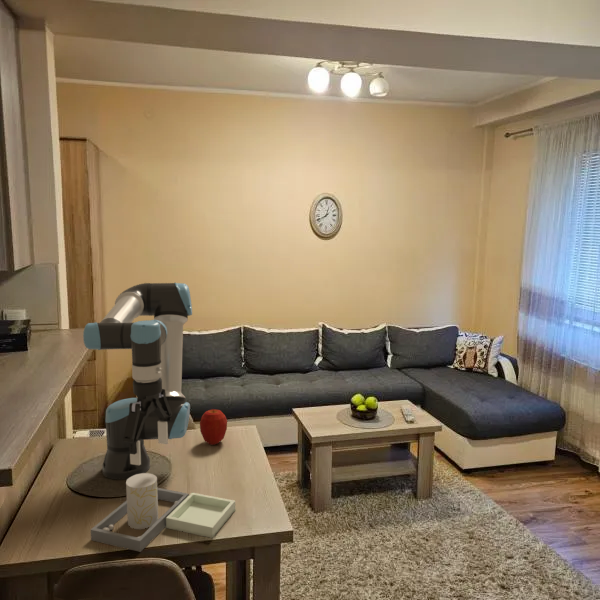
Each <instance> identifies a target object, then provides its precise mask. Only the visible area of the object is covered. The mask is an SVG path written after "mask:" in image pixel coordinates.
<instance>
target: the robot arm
mask: <svg viewBox="0 0 600 600" xmlns="http://www.w3.org/2000/svg"><path fill="white" fill-rule="evenodd" d="M192 315H193V304H192V299H191V292H190V288H189V285H187V283H185V282H184V283H180V282H156V283H154V282H153V283H152V282H150V283H149V282H144V283H139V284H136V285H133V286H131V287H129V288H127V289H125V290H123V291H122V292H121V293H120V294H119V295H118V296H117V297H116V299H115V301H114V305H113V306H112V307H111V309H110V310H109V312H107V314H106V315H105V316H104V317H103V318H102V320H101V321H100V322H97V321H95V322H88V323H86V325H85V326H84V329H83V332H82V333H83V334H82V336H83V337H82V338H83V344H84V347H85V349H88V350H98V351H103V350H106V351H107V350H131V362H132V363H131V364H132V365H131V368H132V369H131V371H132V373H131V374H132V375H131V377H132V379H133V380H132V391H133V395H135V396H136V397H129V398H124V399H119V400H117V401H115V402H113V403H111V404H109V405H108V406H107V408H106V409H105V420H104V421H105V431H106V432H105V434H106V452H105V455H104V459H103V463H102V465H101V467H102V475H103V476H104V477H106V478H108V479H112V480H127V479H128V478H130V477H131V476H133V475H136V474H141V473H148V471H149V469H150V467H151V460H150V456H149V455H148V452H147V449H146V446H145V440H147V441H148V440H157V442H158V444H161V445H162V444H163V445H168V444H169V440H173V439H181V438H184V436H186V433H187V430H188V425H189V422H190V414H191V413H190V412H191V404H190V403H189V402H187V401H186V399H187V398H186V396H185V395H184V394H183V393H182V385H183V383H182V380H183V379H182V377H183V345H184V344H183V342H184V325H185V324H186V323H187V322H188V320H189V319H188V317H189V316H192ZM141 316H146V317H148V316H149V317H151V316H153V319H151V320H149V319H148V320H147V319H146V320H138V321H135V322H134V320H135V319H136V318H138V317H141Z"/></svg>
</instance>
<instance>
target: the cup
mask: <svg viewBox="0 0 600 600" xmlns="http://www.w3.org/2000/svg"><path fill="white" fill-rule="evenodd" d="M125 486H126V487H125V488H126V489H125V491H126V500H127V514H126V515H127V526H128V527H129V526H130V527H129V528H131V529H133V528H134V529H133V530H145V528H146V529H149V528H150V527H151V526H152V525H153V524H154V523H155V522H156V521H157V520H158V519H159V501H158V500H159V499H158V494H157V488H158V477H157V475H155V474H153V473H149V472H145V473H141V474H136V475H133V476H131V477H130V478H128V479H126V482H125ZM148 527H149V528H148Z"/></svg>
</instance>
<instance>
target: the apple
mask: <svg viewBox="0 0 600 600" xmlns="http://www.w3.org/2000/svg"><path fill="white" fill-rule="evenodd" d="M199 428H200V429H199V431H200V434H201V435H202V438H203V441H204V442H205V443H207V444H208V445H211V446H214V445H217V444H219V443H220V442H221V441H222V440H223V439H225V435H226V433H227V429H228V419H227V417H226V415H225V414H224V413H223V412H222V410H220V409H214V408H211V409H209V410H206V411H205V412H204V413H203V414H202V416H201V418H200V421H199Z"/></svg>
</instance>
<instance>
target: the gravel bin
mask: <svg viewBox="0 0 600 600" xmlns="http://www.w3.org/2000/svg"><path fill="white" fill-rule="evenodd" d="M157 494H158V500H161V501H166V502H171V503H173V505H171V507H170V508H169V509H167V511H165V513H164V514H162V515H161V516H160V517H158V520H157V521H156V522H155V523H154V524H153V525H152V526H151V527H149V528H147V530H146V531H145V532H143V534H142V535H139V536H137V537H136V536H133V535H127V534H124V533H118V532H114V531H112V530H114V528H115V527H114V525H115V524H116V523H117V522H118V521H120V520H121V519H122V518H123V517H125V515H127V499H126V500H125V501H123V502H122V503H121V504H120V505H119V506H118V507H117V508H115V509H113V511H112V512H110V513H109V514H107V516H105V517H104V518H103V519H102V520H100V522H98V523H97V524H95V525H94V526H93V527H92V528H90V540H91V541H92V542H93V541H94V542H97V543H102V544H106V545H108V546H109V545H110V546H113V547H118V548H122V547H124V549H126V548H128V549H127V550H130V551H135V552H140V553H141V552H142V551H144V549H145V548H146V547H147V546H148V545H149V544H150V543H151V542H152V541H153V540H154V539H155V538H156V537H157V536H158V535H159V534H160V533H162V531H163V530H164V529H165V528H166V517H167V516H168V515H169V514H170V513H171V512H172V511H174V510H175V509H176V508H177V507H178V506H179V505H180V504H181V503H182V502H183V501H184V500H185V499H186V498H187V497H188V496H189V495H190V493H187V492H182V491H177V490H173V489H172V490H171V489H167V488H162V487H157ZM154 537H155V538H154ZM152 539H153V540H152ZM151 540H152V541H151ZM150 541H151V542H150Z"/></svg>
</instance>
